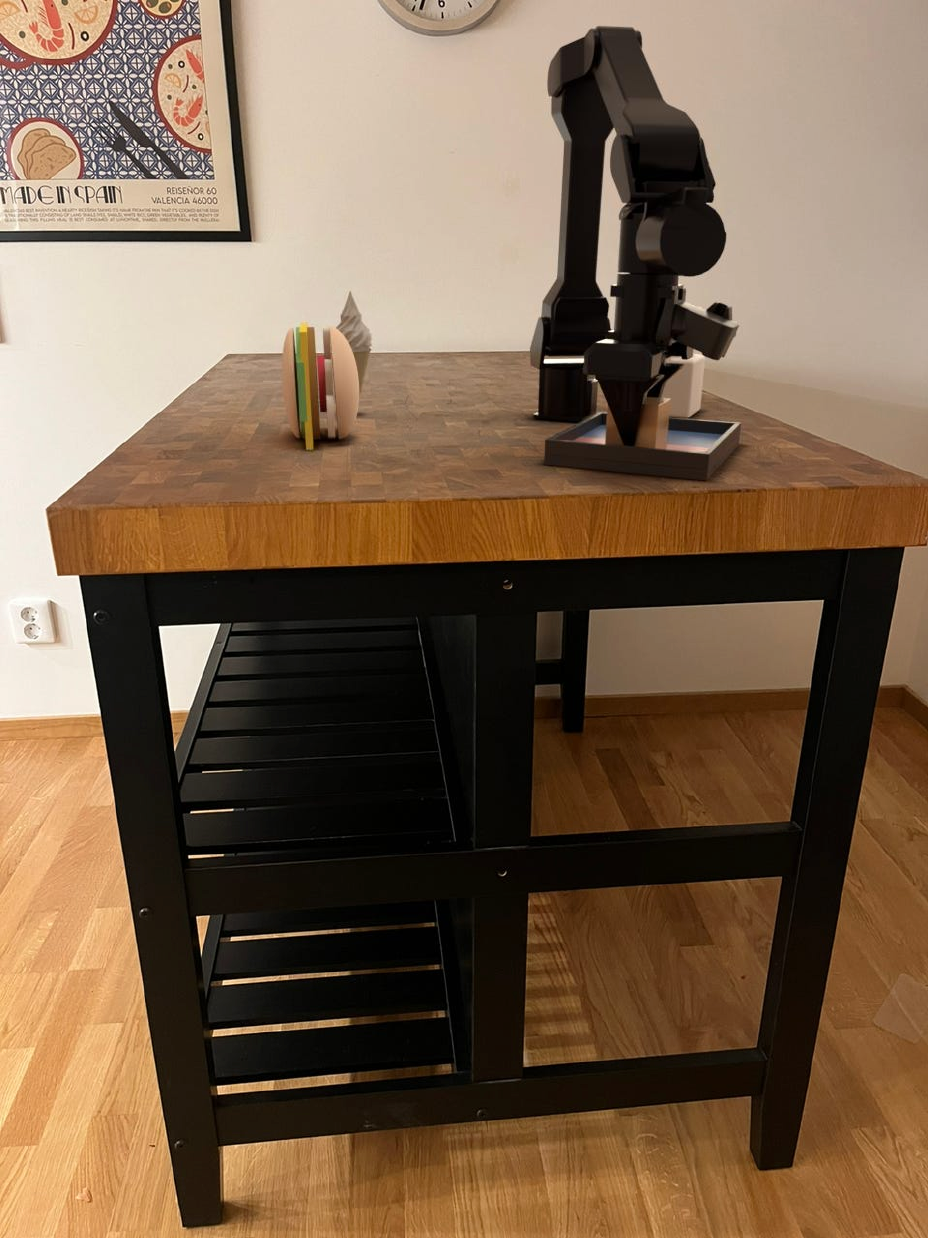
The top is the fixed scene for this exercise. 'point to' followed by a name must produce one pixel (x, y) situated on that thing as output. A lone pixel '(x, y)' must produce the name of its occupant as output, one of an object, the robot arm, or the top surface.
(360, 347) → the ice cream cone
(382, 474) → the top surface
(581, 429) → the tray
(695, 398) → the white square bottle
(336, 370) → the hamburger
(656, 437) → the brass block
